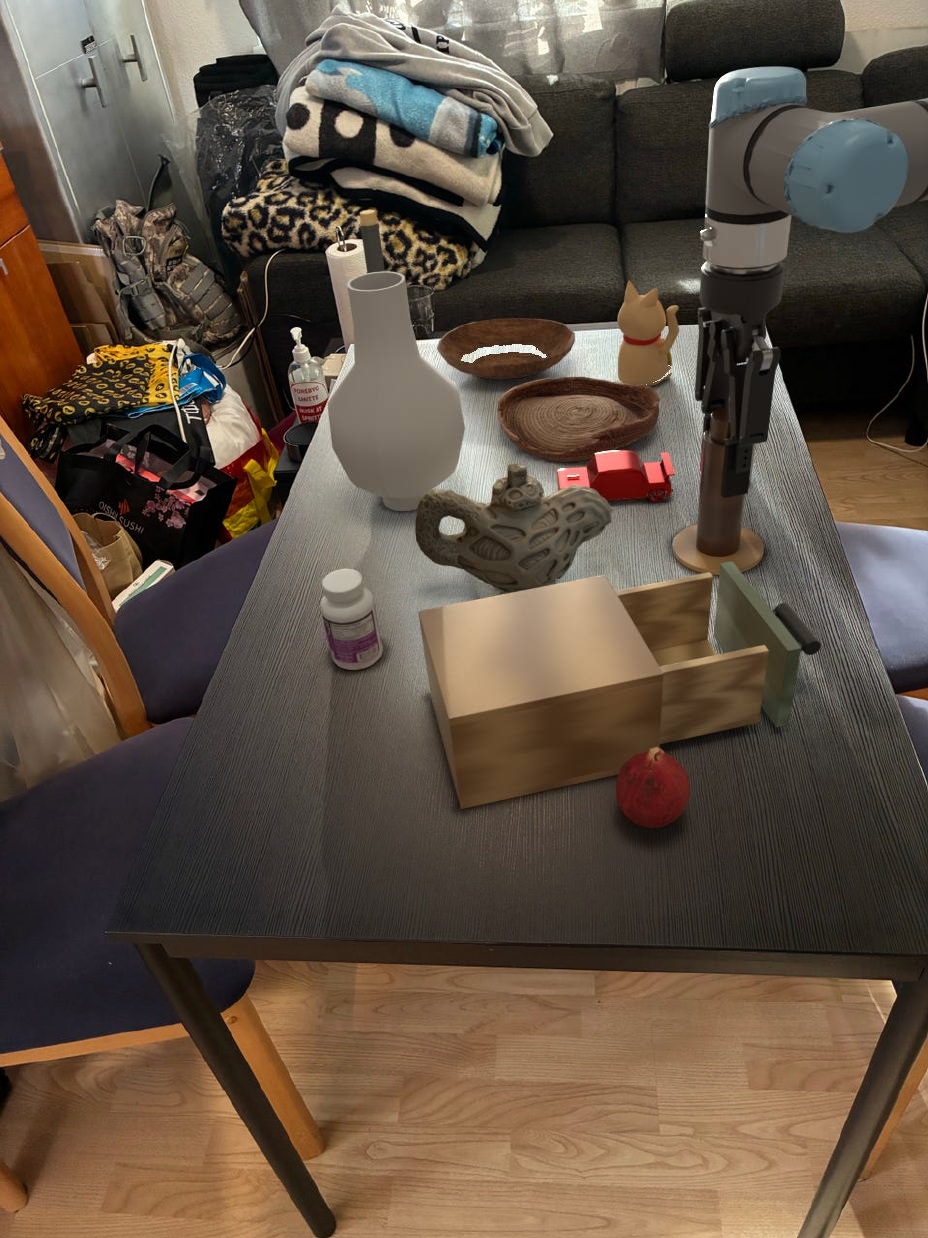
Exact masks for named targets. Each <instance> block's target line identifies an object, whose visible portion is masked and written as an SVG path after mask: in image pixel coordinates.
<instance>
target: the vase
mask: <svg viewBox="0 0 928 1238" xmlns="http://www.w3.org/2000/svg"><path fill="white" fill-rule="evenodd" d="M346 287H347V293H348V299H349V305H350V312H351V318H352V319H351V320H352V325H353V352H354V354H353V356H354V364H353V365H352V367H351V368H350V369H349V371H348V372H347V374H346V375H345V376H344V378H343V379H342V381H341V382H340V384H339V385H338V387H337V388H336V389H335V391H334V393H333V394H332V395H331V396H330V399H329V400H328V401H327V415H328V422H329V430H330V437H331V439H330V440H331V446H332V450H333V452H334V453H335V455H336V457H337V459H338V461H339V463H340V465H341V467H342V469H343V471H344V472H345V474H346V476H347V478H348V480H349V481H350V482H351V483H352V484H353V485H354V486H355V487H356V488H358V489H361V490H364V491H365V492H367V493H370V494H374V495H376V496H380V497H382V500H383V505H384V506H385V507H386V508H387V509H390V510H392V511H395V512H411V511H415V510H417V508H418V505H419V502H420V500H421V499H422V498H423V497H424V496H425V495H426V494H427V493H428V492H430V491H431V490H434V489H435V488H436V487H438V486H439V485H440V484H442V483H444V482H445V481H446V480H447V479H448V478H449V477H451V476H453V474H454V473H455V471H456V469H457V467H458V465H459V460H460V457H461V450H462V445H463V441H464V436H465V431H466V425H465V419H464V414H463V413H464V412H463V408H462V403H461V402H462V401H461V397H460V396H461V395H460V392H459V389H458V386H457V383H455V382H454V381H453V380H452V379H450V378H449V377H448V376H447V375H446V374H444V373H443V372H442V371H441V370H440V369H439V368H437V367H436V366H435V365H434V364H432V363H431V362H430V361H429V360H428V359H426V358H425V357H424V356H423V355H421V354H420V350H419V346H418V343H417V338H416V335H415V332H414V328H413V323H412V324H411V322H412V319H411V313H410V306H409V305H410V304H409V298H408V289H407V282H406V276H405V275H404V274H402V273H400V272H396V271H386V270H385V271H383V272H373V273H367V272H366V273H363V274H359V275H357V276H355V277H352V278H351V279H350V280H348V282H346ZM410 319H411V320H410Z"/></svg>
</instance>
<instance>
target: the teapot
mask: <svg viewBox="0 0 928 1238" xmlns="http://www.w3.org/2000/svg"><path fill="white" fill-rule="evenodd" d="M506 472H507V473H506V474H507V476H504V477H501V478H498V479H496V481H495V482H494V483H493V485H492V490H491V499H490V501H489V502H487V503H486V502H481V501H476V500H474V499H472V498H469V497H468V496H466V495H463V494H459V493H457V492H455V491H454V490H453V489H443V488H442V489H441V488H439V489H432V490H431V491H430V492H428V493H427V494H426V495H425V496H424V497H423V498H422V499H421V500H420V502H419V505H418V508H417V509H416V513H415V519H414V530H415V531H414V532H415V533H414V534H415V542H416V544H417V546H418V548H419V550H420V551H421V552H422V554H423V555H424V556H425V557H426V558H428V560H430V561H431V562H432V563H434V564H437V565H439V566H444V567H453V568H456V569H459V570H463V571H464V572H467V573H468V574H470V575H471V576H473V577H475V578H476V579H478V580H480V581H481V582H483V583H485V584H487V585H489V586H492V587H493V588H495V589H496V590H497V591H501V592H505V593H513V592H518V591H523V590H529V589H534V588H539V587H544V586H549V585H554V584H555V581H556V580H561V579H562V578H563V577H564V576H565V575H566V573H567V572H568V571H569V570H570V568H571V567H572V565H573V563H574V560H575V557H576V554H577V551H578V549H579V548H580V547H581V546H582V544H584V543H586V542H589V541H591V540H592V539H594V538H596V537H598V536H599V535H601V533H602V532H603V531H604V530H605V528H606V527H607V526H608V525H609V524H611V523H612V511H613V508H612V506H611V505H610V503H609V502H608V500H606V499H605V498H603V497H601V496H600V495H599V493H598V492H597V491H596V490H594V489H591V488H589V487H587V486H578V485H576V484H573V485H571V486H569V487H566V488H562V489H561V490H559V491H558V490H557V491H556V492H553V493H552V494H549V495H545V490H544V488H543V487H544V486H543V484H542V483H541V482H540V481H539V479H538V478H536V477H534V476H532V475H530V474H528V467H527V466H526V465H520V464H519V463H511V464H507V468H506ZM447 517H450V518H454V519H457V520H460V521H462V522H463V524H464V526H463V529H462V531H461V532H459V533H453V534H445V533H443V532H441V531H440V525H441V522H442V520H443V519H444V518H447Z"/></svg>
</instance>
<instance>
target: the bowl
mask: <svg viewBox="0 0 928 1238" xmlns="http://www.w3.org/2000/svg"><path fill="white" fill-rule="evenodd" d="M575 342H576V333H575V332H574V331H573V330H572V328H570V327H569V326H568V324H565V323H561V322H557V321H554V320H549V319H542V318H518V317H517V318H515V317H514V318H494V319H488V320H480V321H473V322H469V323H466V324H462V325H459V326H457V327H455V328H454V329H453V328H452V329H451V330H450V331H448V332H446V333H445V334H444V335H443V336H441V338H440V339H439V340H438V343H437V346H436V350H437V351H438V353H439V355H440V356H441V357H442V358H443V359H444V361H445V362H446V363H447V364H448V365H449V366H451V367H452V368H454V369H455V370H458V371H459V372H460V373H464V374H467V375H472V376H475V377H478V378H485V379H493V380H511V379H521V378H524V377H528V376H532V375H535V374H538V373H542V372H545V371H547V370H550V369H551V368H553V367H554V366H555V365H557V364H558V363H560V362H561V361H562V360H563V359H564V358H565V357H566V356H567V355H568V354H569V353H570V351H572V349H573V346H574V345H575ZM512 344H522V345H533V346H535V347H536V350H537V348H538V350H539V351H541V352H542V353H543V354H546V356H547V357H546V358H542V357H541V356H539V355H535V354H532V353H519V352H508V353H500V354H489V355H486V356H482V357H480V358H478V359H476V360H475V361H474V362H473V363H469V362H464V361H461V359H462V357H463V355H465V354H470V353H472V352H474V351H476V350H477V349H478V348H483V347H492V346H494V345H499V346H503V345H505V346H506V345H512Z"/></svg>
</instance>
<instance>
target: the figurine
mask: <svg viewBox="0 0 928 1238" xmlns="http://www.w3.org/2000/svg"><path fill="white" fill-rule="evenodd" d="M679 309H680V307H679V305H675V304H674V305H670V306H669V307H668V308H667V309H666V313H665V310H664V307H663V305H662V302H661V301H660V300H659V288H658V287H655V288H653V289H651V290H649V292H647V293H646V294H645V295H643V294H640V295H639V293H638V291H637V289H636V287H635V286H634V284H633V282H632V281H631V280H630V279H629V280H628V281H627V284H626V287H625V293H624V301H623V303H622V305H621V306H620V309H619V312H618V315H617V326H618V329H619V330H620V332H621V333H622V341H621V343H620V346H619V350H618V356H617V378H618V380H619V381H620V383H625V384H634V385H641V384H642V385H646V384H647V385H646V386H649V387H652V386H656V385H658V384H660V383H661V382H662V381H664V380H667V379H669V378H670V377H671V376H672V374H673V372H672V373H670V374H668V375H667V376H666V377H664V378H663V379H661V378H662V377H663V376H665V374H666V373H667V372H668V371H669V370H670V369H672V368H671V367H670V366H672V367H673V358H672V353H671V349H672V348H673V346H674V344H675V341H676V339H677V337H678V335H679V332H680V327H679V326H680V325H679V324H678V320H677V317H676V313H677V312H678V311H679ZM666 325H667V328H668V332H667V335H666V336H665V338H664V337H662V332H663V331H664V330H665V328H666ZM668 365H670V366H668ZM659 379H661V380H660V381H657V380H659ZM655 381H657V382H655ZM653 382H654V383H653Z"/></svg>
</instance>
